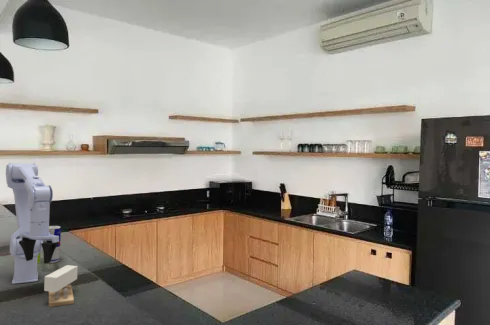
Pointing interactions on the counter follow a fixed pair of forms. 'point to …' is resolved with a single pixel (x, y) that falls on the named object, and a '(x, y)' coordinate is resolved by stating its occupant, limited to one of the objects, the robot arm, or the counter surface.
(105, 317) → the counter surface
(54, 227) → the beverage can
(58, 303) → the peg stand
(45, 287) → the white rectangular block
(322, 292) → the counter surface
